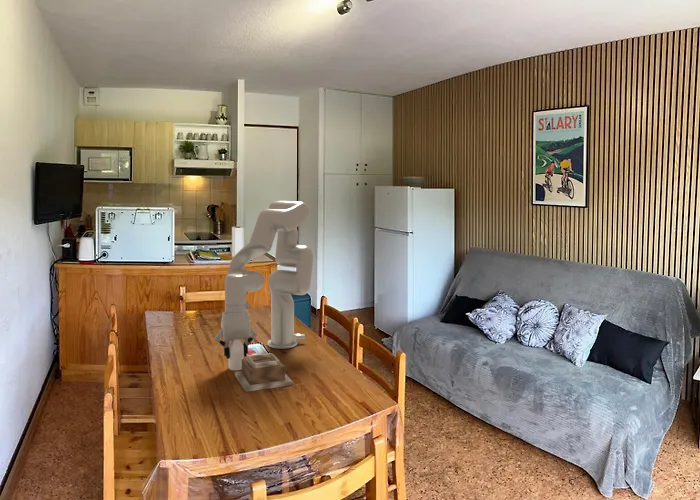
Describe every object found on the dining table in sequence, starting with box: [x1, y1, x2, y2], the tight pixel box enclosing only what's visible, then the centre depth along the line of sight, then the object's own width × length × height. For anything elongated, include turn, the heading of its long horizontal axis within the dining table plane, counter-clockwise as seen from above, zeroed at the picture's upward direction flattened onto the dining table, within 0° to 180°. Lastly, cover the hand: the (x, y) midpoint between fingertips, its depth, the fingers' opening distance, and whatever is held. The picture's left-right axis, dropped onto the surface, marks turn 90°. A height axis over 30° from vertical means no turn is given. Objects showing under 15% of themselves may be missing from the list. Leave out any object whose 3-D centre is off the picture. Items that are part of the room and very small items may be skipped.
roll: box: [227, 339, 245, 372], centre depth 193 cm, size 6×12×6 cm
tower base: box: [234, 352, 293, 393], centre depth 182 cm, size 16×16×8 cm
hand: (236, 356), depth 193 cm, fingers closed on roll, 5 cm apart
